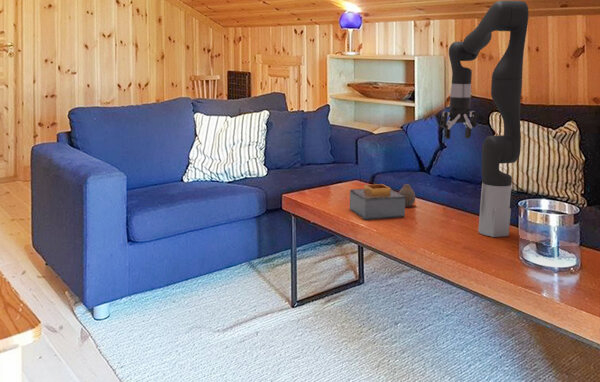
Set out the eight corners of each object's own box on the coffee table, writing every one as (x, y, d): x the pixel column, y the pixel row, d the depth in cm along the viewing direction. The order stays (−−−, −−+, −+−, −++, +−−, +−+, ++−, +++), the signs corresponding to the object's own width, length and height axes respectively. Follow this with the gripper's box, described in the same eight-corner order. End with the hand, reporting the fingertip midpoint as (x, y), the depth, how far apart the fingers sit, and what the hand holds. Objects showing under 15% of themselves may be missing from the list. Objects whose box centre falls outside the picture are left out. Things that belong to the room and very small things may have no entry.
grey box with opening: (404, 217, 201) (405, 189, 199) (364, 220, 197) (365, 192, 195) (383, 204, 220) (384, 179, 217) (346, 207, 215) (347, 181, 213)
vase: (413, 204, 220) (414, 183, 218) (415, 208, 214) (416, 187, 212) (396, 203, 221) (397, 182, 219) (398, 208, 214) (398, 186, 212)
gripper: (448, 96, 198) (446, 140, 201) (482, 96, 201) (479, 139, 205) (438, 95, 205) (436, 138, 208) (471, 95, 208) (468, 136, 212)
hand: (457, 138), depth 207 cm, fingers open, 8 cm apart
